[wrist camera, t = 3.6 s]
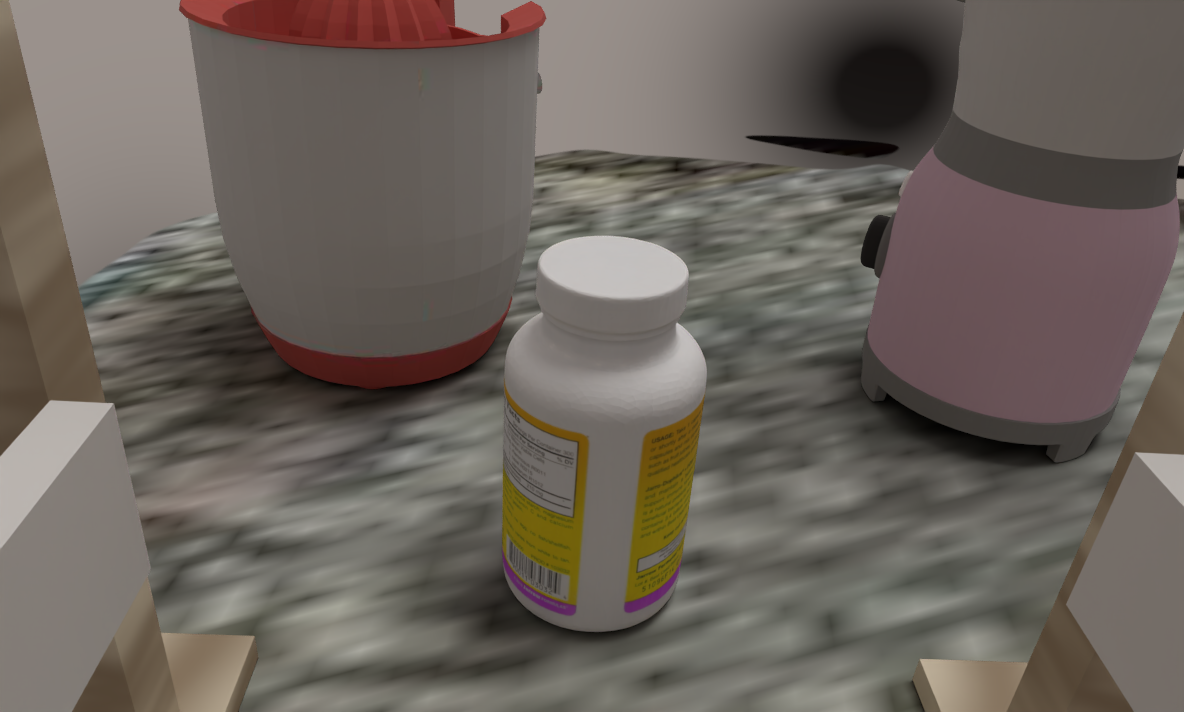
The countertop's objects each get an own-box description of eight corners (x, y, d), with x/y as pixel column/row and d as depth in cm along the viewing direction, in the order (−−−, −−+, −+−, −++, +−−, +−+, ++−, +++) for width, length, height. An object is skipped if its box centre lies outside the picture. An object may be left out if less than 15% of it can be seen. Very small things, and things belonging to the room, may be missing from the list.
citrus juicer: (613, 332, 51) (649, -59, 41) (350, 460, 40) (309, -38, 30) (433, 243, 60) (425, -98, 50) (174, 328, 48) (95, -93, 38)
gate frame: (1026, 683, 32) (1609, -617, 15) (1173, 965, 24) (2654, -1050, 8) (134, 653, 30) (-256, -812, 14) (-19, 943, 22) (-1285, -1589, 6)
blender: (1116, 383, 50) (1425, -354, 34) (1095, 501, 41) (1507, -435, 25) (835, 300, 56) (981, -351, 40) (762, 387, 47) (914, -414, 31)
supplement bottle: (668, 519, 38) (709, 227, 31) (686, 644, 32) (740, 320, 26) (505, 512, 37) (512, 217, 31) (494, 638, 32) (499, 308, 25)
